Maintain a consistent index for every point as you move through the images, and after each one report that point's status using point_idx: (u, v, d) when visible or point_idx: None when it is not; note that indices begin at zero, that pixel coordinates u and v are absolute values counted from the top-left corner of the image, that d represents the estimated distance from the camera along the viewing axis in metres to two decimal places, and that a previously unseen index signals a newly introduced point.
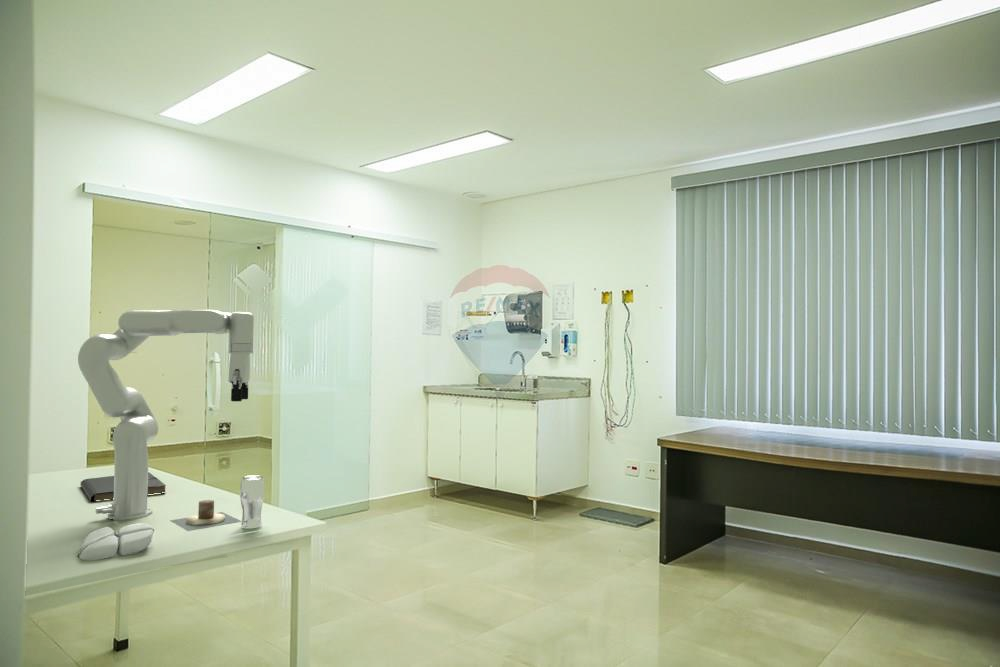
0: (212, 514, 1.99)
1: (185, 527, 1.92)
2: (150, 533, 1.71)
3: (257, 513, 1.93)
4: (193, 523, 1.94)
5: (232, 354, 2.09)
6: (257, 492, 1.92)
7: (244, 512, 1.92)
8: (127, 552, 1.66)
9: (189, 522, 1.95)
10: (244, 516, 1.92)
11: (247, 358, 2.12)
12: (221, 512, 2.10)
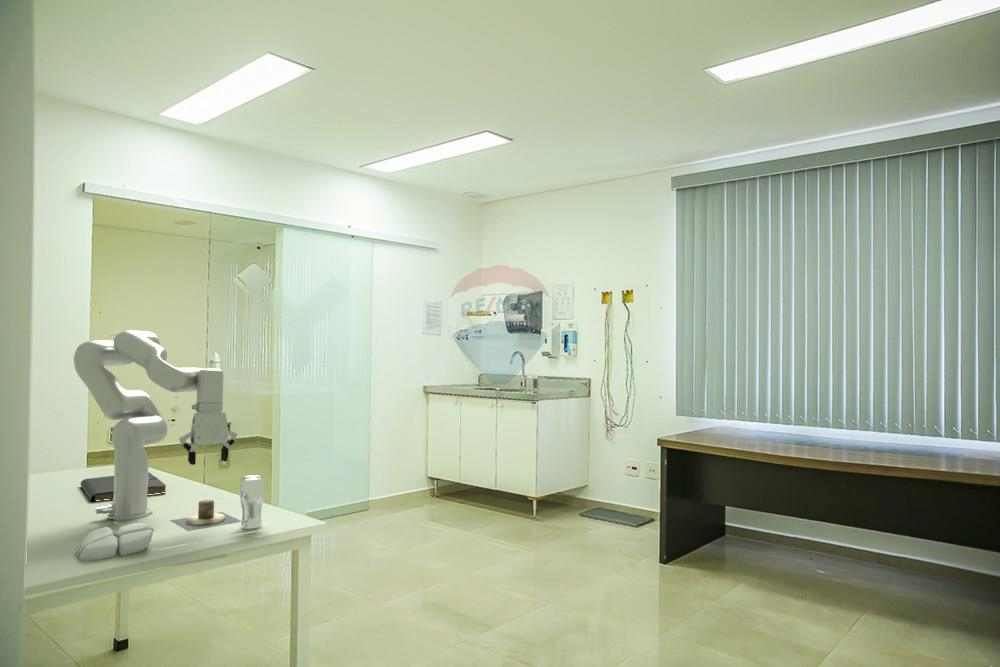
0: (212, 514, 1.99)
1: (185, 527, 1.92)
2: (150, 533, 1.71)
3: (257, 513, 1.93)
4: (193, 523, 1.94)
5: (225, 413, 2.03)
6: (257, 492, 1.92)
7: (244, 512, 1.92)
8: (127, 552, 1.66)
9: (189, 522, 1.95)
10: (244, 516, 1.92)
11: None
12: (221, 512, 2.10)
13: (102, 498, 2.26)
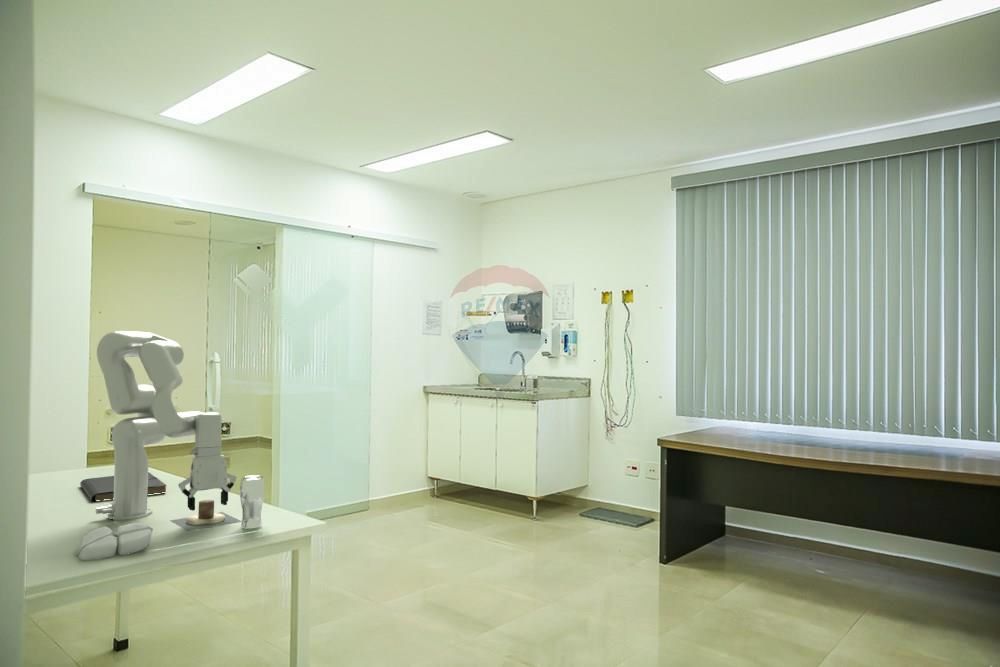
0: (212, 514, 1.99)
1: (185, 527, 1.92)
2: (149, 532, 1.71)
3: (257, 513, 1.93)
4: (193, 523, 1.94)
5: None
6: (257, 492, 1.92)
7: (244, 512, 1.92)
8: (126, 552, 1.66)
9: (189, 522, 1.95)
10: (244, 516, 1.92)
11: None
12: (221, 512, 2.10)
13: (103, 498, 2.26)
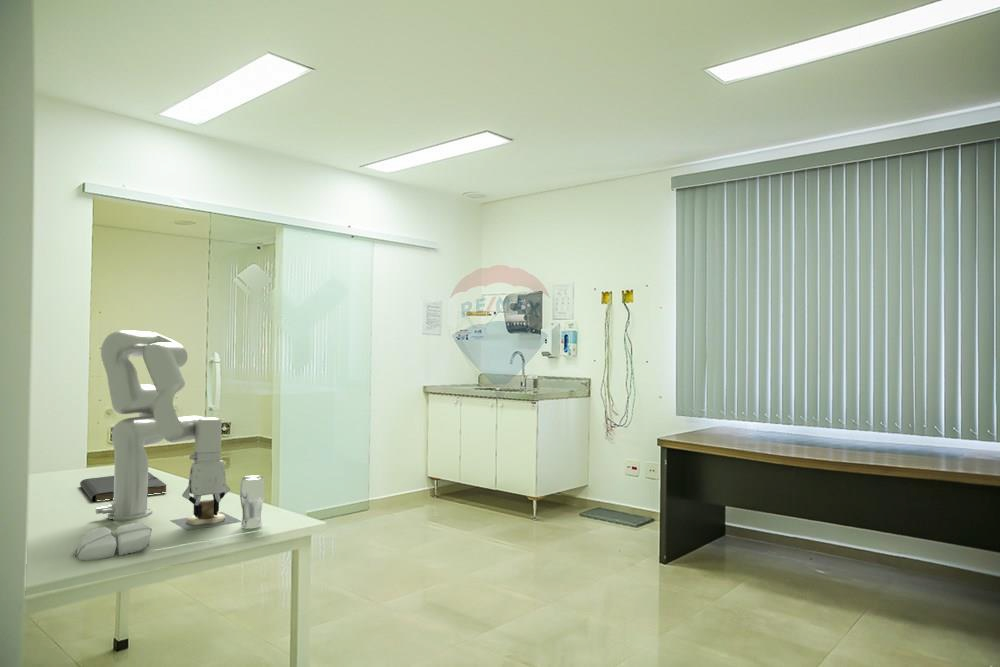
0: (212, 514, 1.99)
1: (185, 527, 1.92)
2: (148, 532, 1.71)
3: (257, 513, 1.93)
4: (193, 523, 1.94)
5: (223, 462, 2.02)
6: (257, 492, 1.92)
7: (244, 512, 1.92)
8: (125, 552, 1.66)
9: (189, 522, 1.95)
10: (244, 516, 1.92)
11: None
12: (221, 512, 2.10)
13: (103, 498, 2.26)
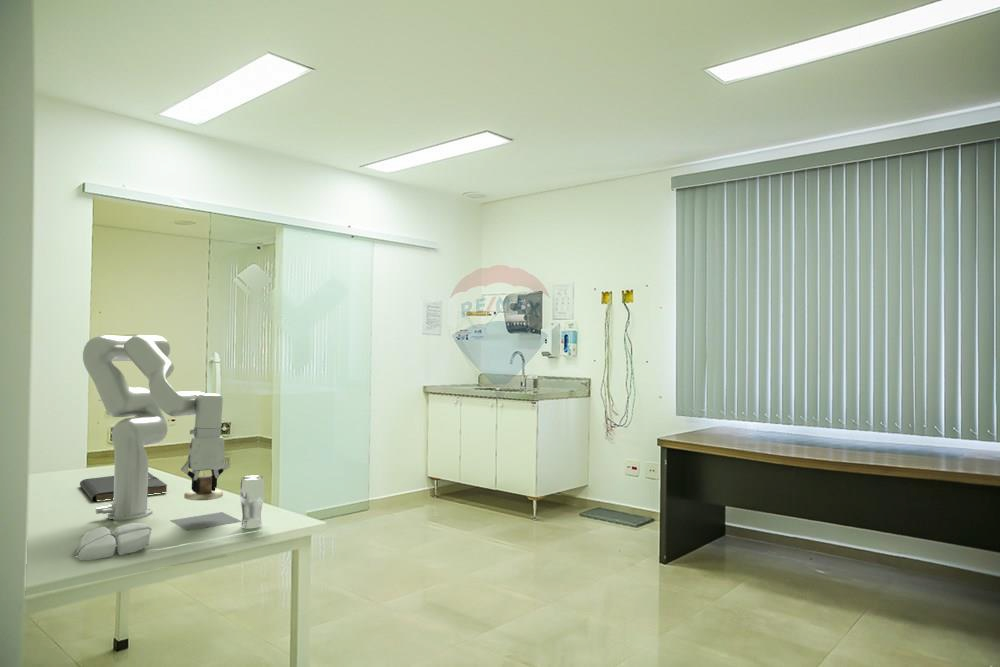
0: (210, 490, 2.00)
1: (185, 527, 1.92)
2: (148, 532, 1.71)
3: (257, 513, 1.93)
4: (191, 498, 1.95)
5: None
6: (257, 492, 1.92)
7: (244, 512, 1.92)
8: (125, 552, 1.66)
9: (187, 497, 1.95)
10: (244, 516, 1.92)
11: None
12: (221, 512, 2.10)
13: (103, 498, 2.26)
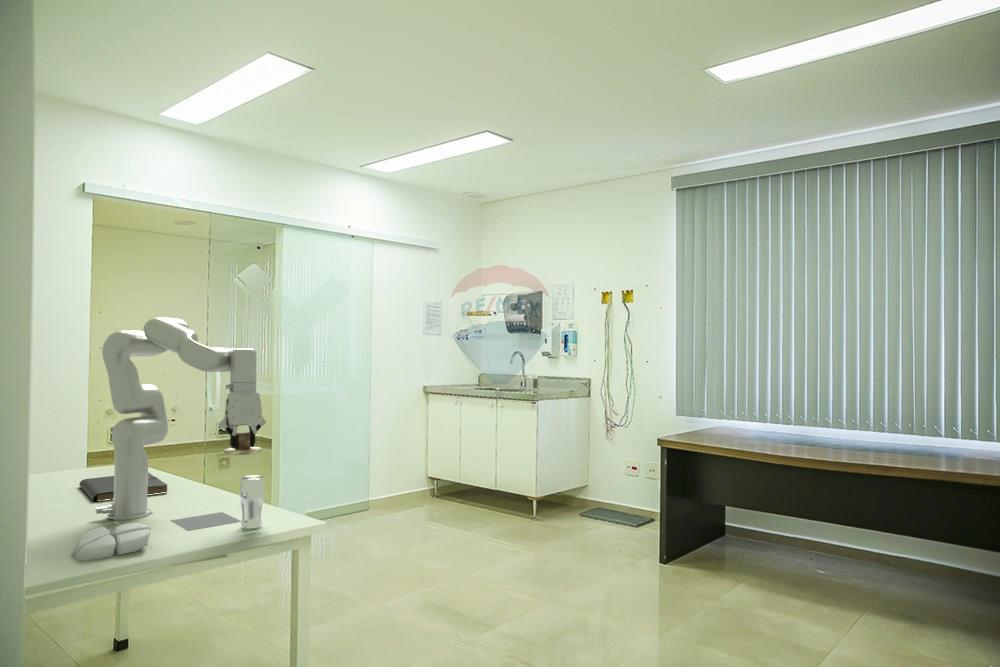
0: (249, 445, 1.96)
1: (185, 527, 1.92)
2: (147, 532, 1.71)
3: (257, 513, 1.93)
4: (231, 453, 1.91)
5: None
6: (257, 492, 1.92)
7: (244, 512, 1.92)
8: (125, 552, 1.66)
9: (226, 452, 1.92)
10: (244, 516, 1.92)
11: None
12: (221, 512, 2.10)
13: (104, 498, 2.26)
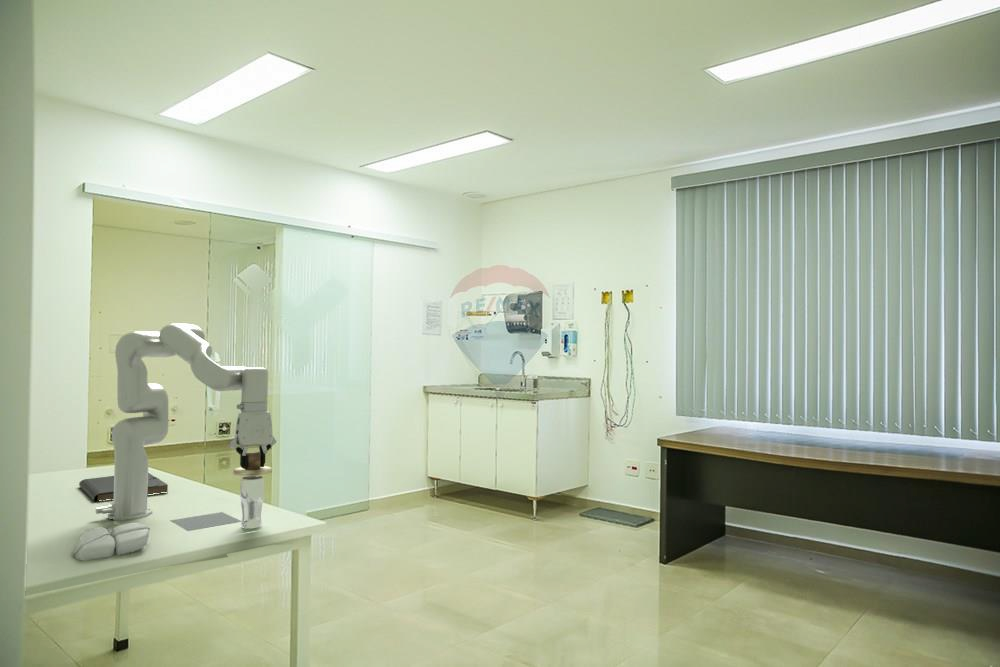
0: (259, 465, 1.95)
1: (185, 527, 1.92)
2: (146, 532, 1.71)
3: (257, 513, 1.93)
4: (241, 473, 1.90)
5: None
6: (257, 492, 1.92)
7: (244, 512, 1.92)
8: (124, 551, 1.66)
9: (237, 472, 1.90)
10: (244, 516, 1.92)
11: None
12: (221, 512, 2.10)
13: (105, 498, 2.26)
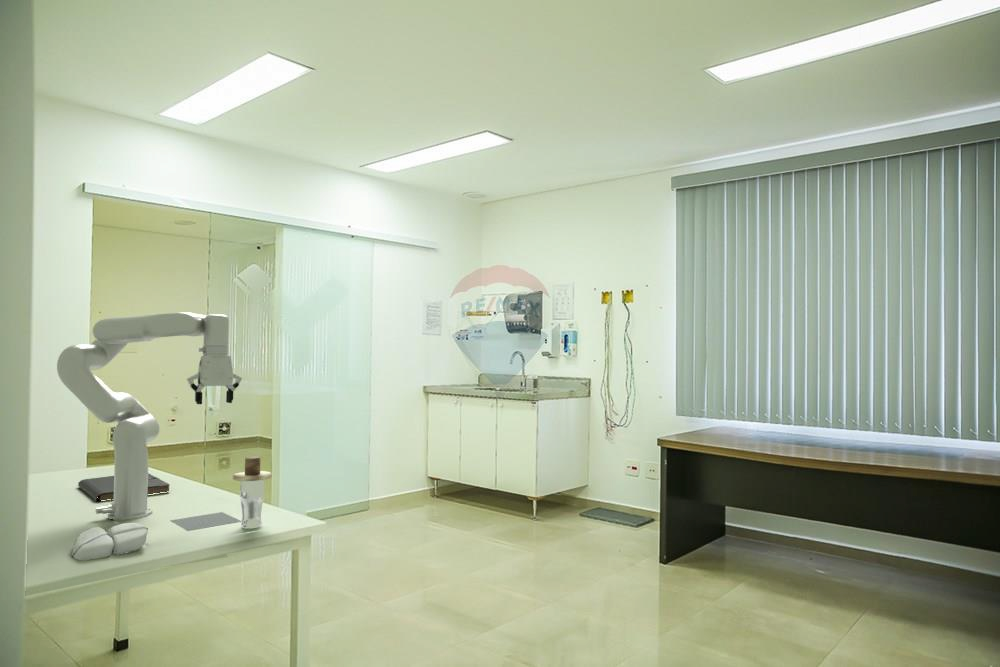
0: (259, 470, 1.95)
1: (185, 527, 1.92)
2: (145, 532, 1.72)
3: (257, 513, 1.93)
4: (241, 479, 1.90)
5: (230, 357, 2.13)
6: (257, 492, 1.92)
7: (244, 512, 1.92)
8: (123, 551, 1.67)
9: (236, 478, 1.90)
10: (244, 516, 1.92)
11: None
12: (221, 512, 2.10)
13: (107, 498, 2.27)
